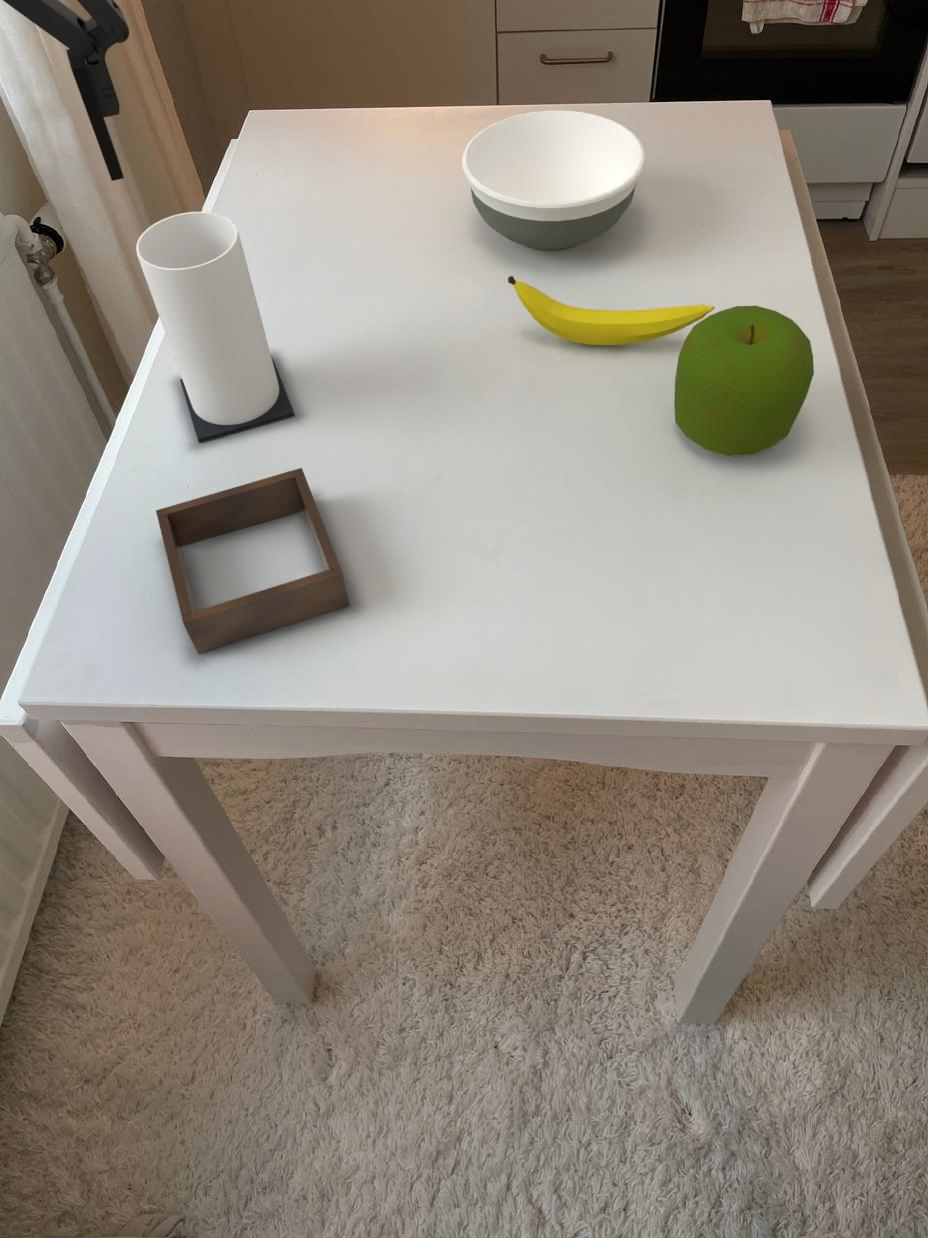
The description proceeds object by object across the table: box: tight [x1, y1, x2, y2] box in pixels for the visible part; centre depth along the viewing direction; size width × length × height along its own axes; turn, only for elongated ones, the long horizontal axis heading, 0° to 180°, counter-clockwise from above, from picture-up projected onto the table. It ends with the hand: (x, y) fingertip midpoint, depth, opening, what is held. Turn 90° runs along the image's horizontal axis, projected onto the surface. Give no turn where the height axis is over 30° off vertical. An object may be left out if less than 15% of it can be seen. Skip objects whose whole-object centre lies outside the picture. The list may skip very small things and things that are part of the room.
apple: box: [673, 305, 815, 457], centre depth 80 cm, size 11×11×11 cm
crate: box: [155, 467, 351, 655], centre depth 75 cm, size 12×12×4 cm
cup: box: [135, 211, 279, 425], centre depth 83 cm, size 8×8×16 cm
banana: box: [507, 275, 715, 346], centre depth 89 cm, size 3×19×6 cm, turn 78°
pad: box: [179, 355, 296, 444], centre depth 89 cm, size 9×9×1 cm
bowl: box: [461, 109, 646, 252], centre depth 100 cm, size 19×19×8 cm
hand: (4, 195), depth 58 cm, fingers open, 13 cm apart
